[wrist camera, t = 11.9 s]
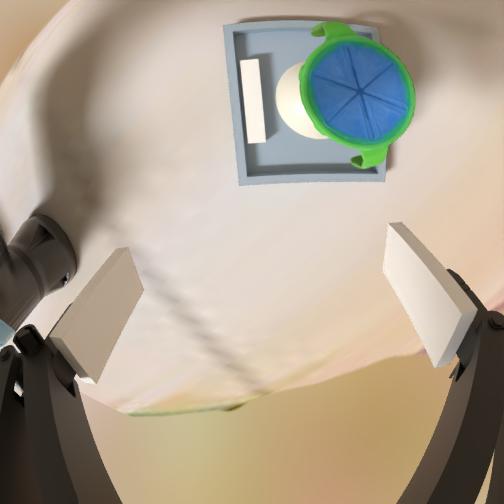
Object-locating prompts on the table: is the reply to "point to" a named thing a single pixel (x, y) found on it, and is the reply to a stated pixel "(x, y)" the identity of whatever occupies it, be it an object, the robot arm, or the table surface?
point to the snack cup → (356, 92)
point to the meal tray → (283, 107)
